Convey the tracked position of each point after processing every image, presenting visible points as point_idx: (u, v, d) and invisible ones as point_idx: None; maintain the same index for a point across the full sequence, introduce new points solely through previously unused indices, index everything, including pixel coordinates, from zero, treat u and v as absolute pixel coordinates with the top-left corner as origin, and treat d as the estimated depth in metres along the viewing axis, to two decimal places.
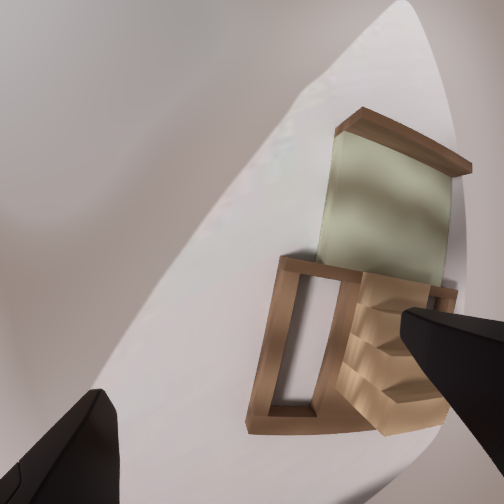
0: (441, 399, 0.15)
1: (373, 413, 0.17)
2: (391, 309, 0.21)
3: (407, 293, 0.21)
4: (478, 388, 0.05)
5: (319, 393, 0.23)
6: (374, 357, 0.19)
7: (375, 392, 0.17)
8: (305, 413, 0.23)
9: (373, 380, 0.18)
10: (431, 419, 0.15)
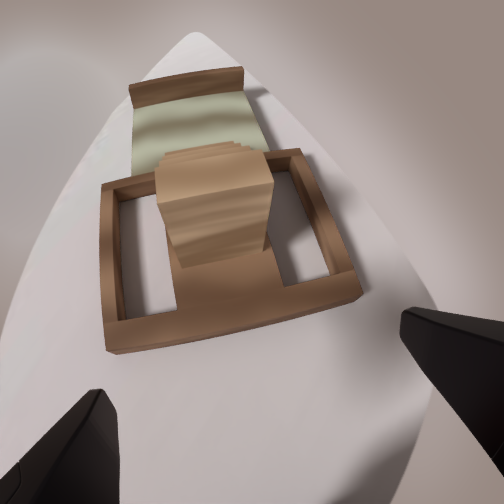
0: (235, 155, 0.16)
1: None
2: None
3: None
4: (478, 388, 0.05)
5: None
6: None
7: None
8: None
9: None
10: (237, 177, 0.15)
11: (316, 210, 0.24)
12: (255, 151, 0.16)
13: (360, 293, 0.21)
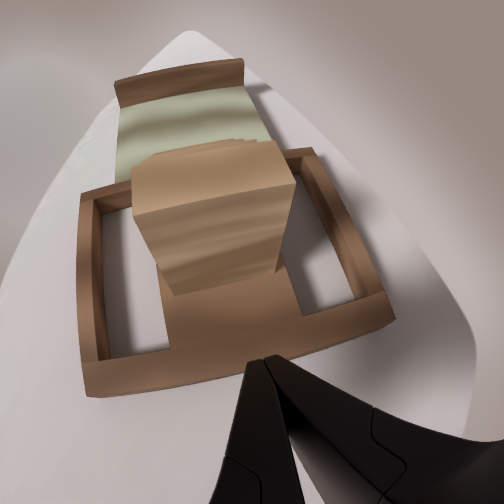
0: (240, 148, 0.12)
1: None
2: None
3: None
4: (322, 475, 0.04)
5: None
6: None
7: None
8: None
9: None
10: (245, 176, 0.11)
11: (336, 219, 0.20)
12: (267, 142, 0.12)
13: (393, 319, 0.17)
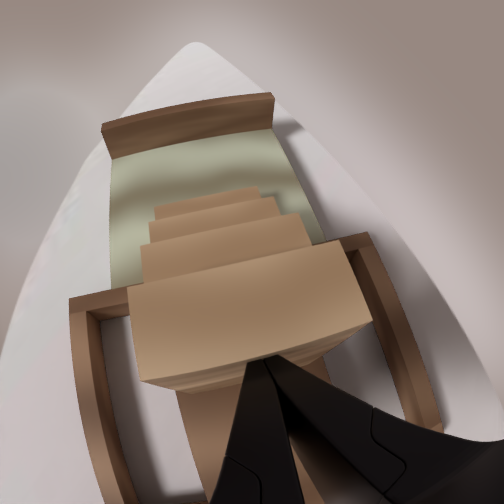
0: (291, 257, 0.08)
1: None
2: None
3: None
4: (322, 475, 0.04)
5: None
6: None
7: None
8: None
9: None
10: (303, 314, 0.07)
11: (399, 343, 0.15)
12: (328, 246, 0.08)
13: None
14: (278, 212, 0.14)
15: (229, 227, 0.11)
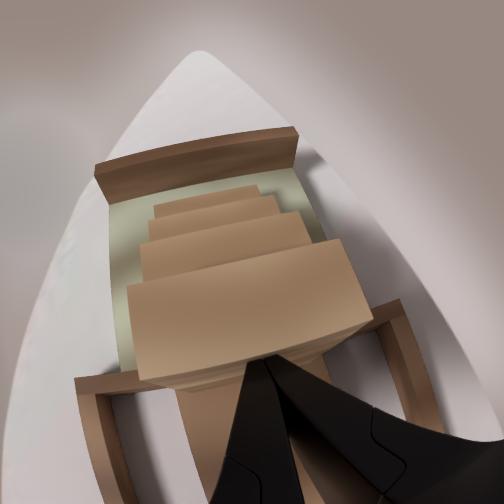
0: (291, 255, 0.08)
1: None
2: None
3: None
4: (322, 475, 0.04)
5: None
6: None
7: None
8: None
9: None
10: (303, 313, 0.07)
11: (424, 417, 0.12)
12: (329, 244, 0.08)
13: None
14: (278, 210, 0.14)
15: (229, 225, 0.11)
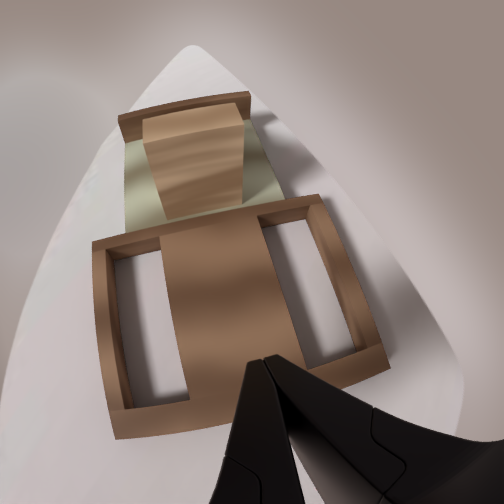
0: (211, 107, 0.17)
1: None
2: None
3: None
4: (322, 475, 0.04)
5: None
6: None
7: None
8: None
9: None
10: (212, 122, 0.16)
11: (340, 274, 0.21)
12: (229, 104, 0.17)
13: (387, 368, 0.18)
14: None
15: None
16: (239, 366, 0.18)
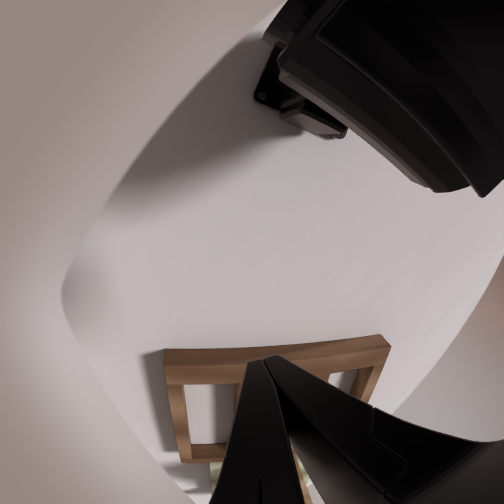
0: None
1: None
2: None
3: None
4: (322, 475, 0.04)
5: None
6: None
7: None
8: None
9: None
10: None
11: (186, 426, 0.23)
12: None
13: (166, 366, 0.20)
14: None
15: None
16: None
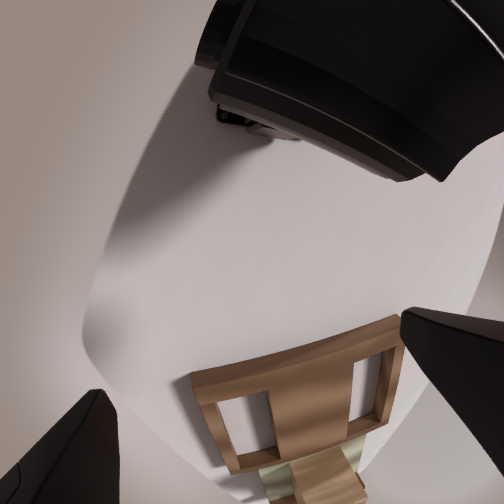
0: None
1: None
2: None
3: None
4: (478, 388, 0.05)
5: None
6: None
7: None
8: None
9: None
10: None
11: (227, 440, 0.23)
12: None
13: (195, 388, 0.21)
14: None
15: None
16: (316, 387, 0.23)
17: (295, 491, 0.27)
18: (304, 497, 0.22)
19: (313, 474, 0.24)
